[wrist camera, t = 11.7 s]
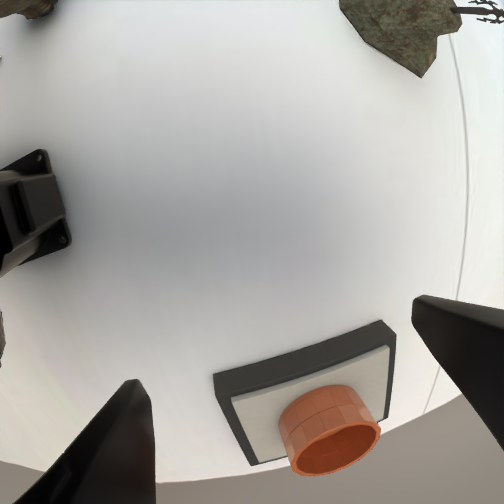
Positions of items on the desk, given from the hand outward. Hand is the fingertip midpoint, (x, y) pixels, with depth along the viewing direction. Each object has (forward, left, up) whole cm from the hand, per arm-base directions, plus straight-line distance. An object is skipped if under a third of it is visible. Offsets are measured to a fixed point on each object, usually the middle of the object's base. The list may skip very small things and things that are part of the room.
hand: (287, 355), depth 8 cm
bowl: (+3, -14, -8) cm, 16 cm away
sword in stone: (+15, +14, -11) cm, 23 cm away
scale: (+3, -15, -11) cm, 18 cm away
